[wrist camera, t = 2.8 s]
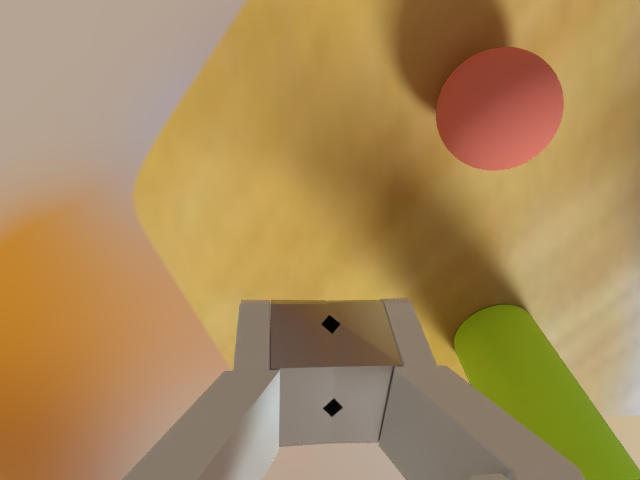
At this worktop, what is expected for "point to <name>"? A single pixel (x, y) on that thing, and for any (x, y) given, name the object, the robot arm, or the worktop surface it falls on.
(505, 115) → the ball
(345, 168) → the worktop surface
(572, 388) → the soap dispenser
